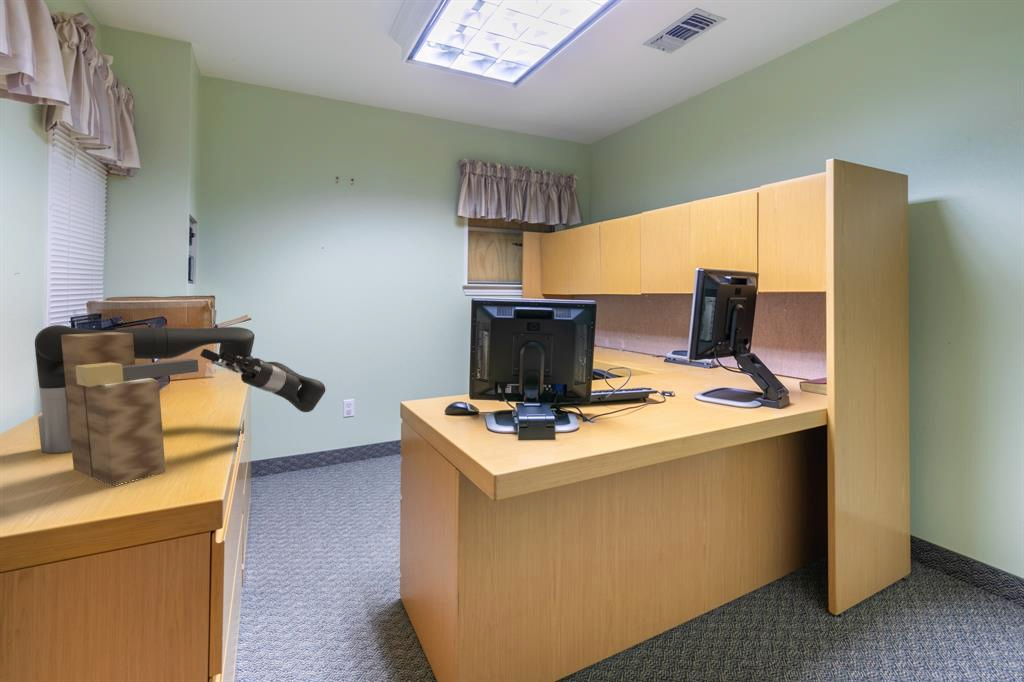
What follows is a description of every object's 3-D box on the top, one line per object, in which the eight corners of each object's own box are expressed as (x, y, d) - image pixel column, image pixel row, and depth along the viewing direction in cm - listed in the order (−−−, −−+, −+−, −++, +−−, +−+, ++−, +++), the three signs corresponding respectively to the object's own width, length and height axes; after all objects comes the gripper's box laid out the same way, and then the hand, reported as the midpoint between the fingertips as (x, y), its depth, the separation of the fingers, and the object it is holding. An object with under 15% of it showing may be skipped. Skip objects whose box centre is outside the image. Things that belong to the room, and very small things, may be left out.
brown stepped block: (113, 487, 102) (100, 338, 99) (73, 469, 113) (60, 335, 110) (165, 472, 111) (155, 335, 108) (124, 457, 122) (113, 332, 119)
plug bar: (89, 386, 100) (87, 367, 99) (77, 384, 103) (75, 365, 102) (201, 371, 119) (200, 355, 118) (188, 370, 122) (187, 354, 121)
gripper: (255, 362, 141) (203, 338, 128) (285, 365, 134) (233, 341, 121) (244, 386, 139) (189, 364, 126) (274, 390, 131) (219, 368, 119)
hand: (211, 353), depth 124 cm, fingers open, 8 cm apart
